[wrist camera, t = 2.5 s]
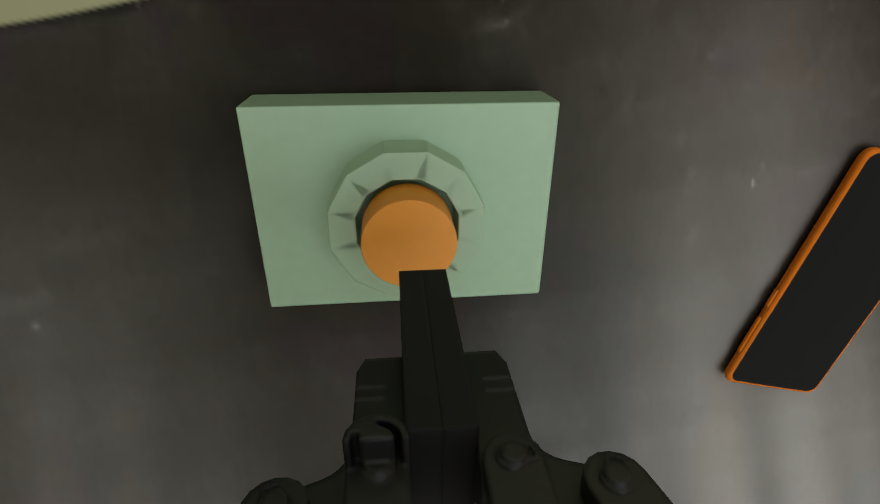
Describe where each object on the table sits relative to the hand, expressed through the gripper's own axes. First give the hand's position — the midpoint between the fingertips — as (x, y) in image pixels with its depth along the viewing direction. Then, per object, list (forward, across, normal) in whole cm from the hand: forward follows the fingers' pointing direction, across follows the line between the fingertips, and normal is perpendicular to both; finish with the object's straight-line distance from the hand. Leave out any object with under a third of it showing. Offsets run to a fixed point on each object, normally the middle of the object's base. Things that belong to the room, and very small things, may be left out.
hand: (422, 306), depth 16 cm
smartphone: (+12, -27, +7) cm, 30 cm away
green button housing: (+11, 0, 0) cm, 11 cm away
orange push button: (+7, 0, 0) cm, 7 cm away
